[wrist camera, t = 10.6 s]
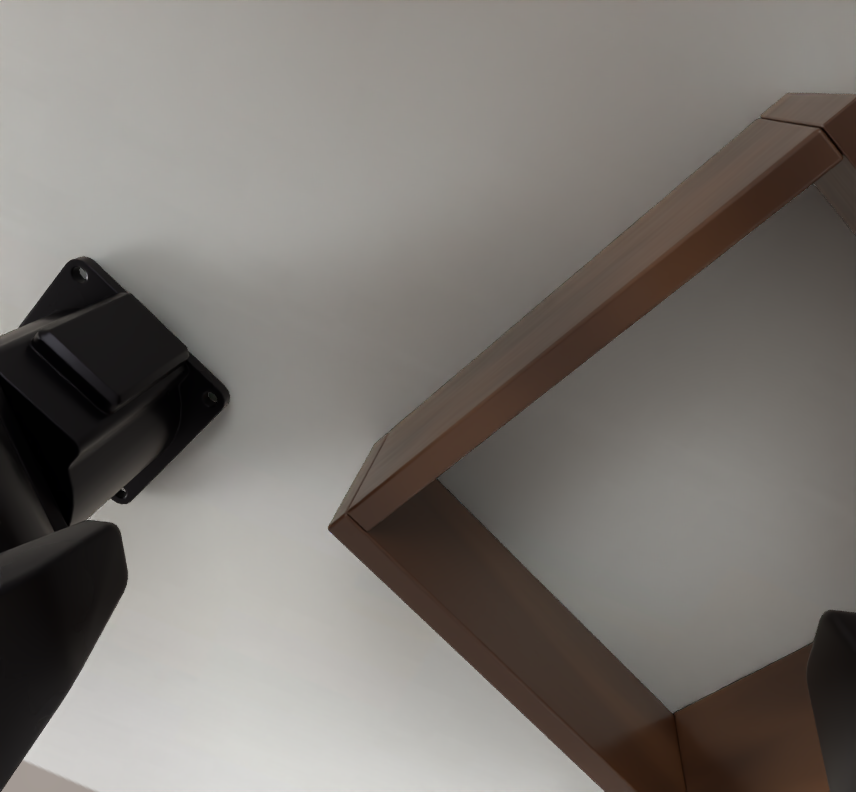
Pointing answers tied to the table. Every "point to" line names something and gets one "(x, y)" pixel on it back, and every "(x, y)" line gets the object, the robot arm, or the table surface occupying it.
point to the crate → (511, 581)
